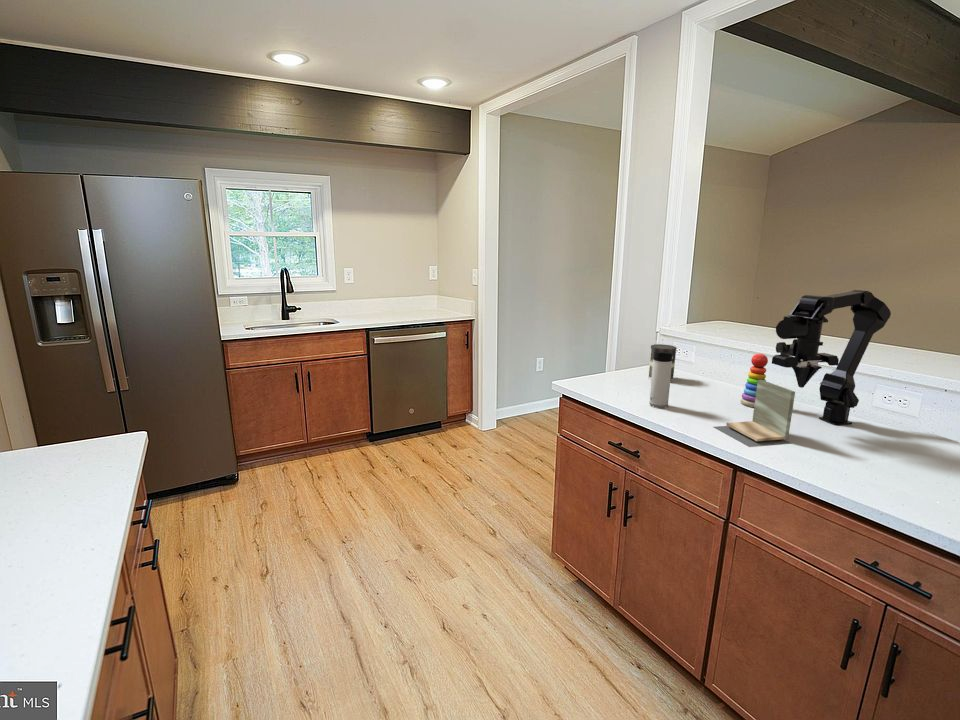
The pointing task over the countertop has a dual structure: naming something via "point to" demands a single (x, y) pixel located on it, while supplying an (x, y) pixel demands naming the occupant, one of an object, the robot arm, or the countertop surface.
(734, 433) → the mat
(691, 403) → the countertop surface
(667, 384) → the travel mug
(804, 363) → the robot arm
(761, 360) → the stacking toy
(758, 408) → the wooden bookend
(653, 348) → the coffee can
